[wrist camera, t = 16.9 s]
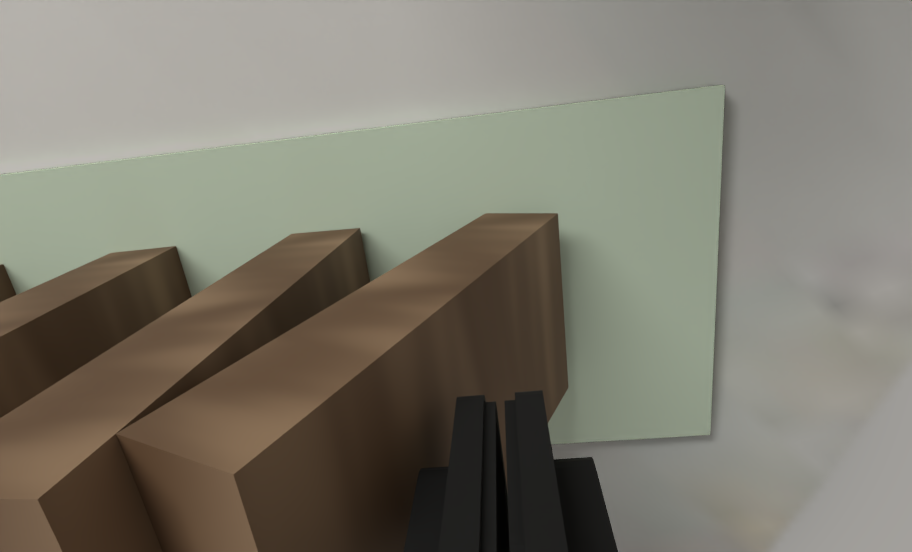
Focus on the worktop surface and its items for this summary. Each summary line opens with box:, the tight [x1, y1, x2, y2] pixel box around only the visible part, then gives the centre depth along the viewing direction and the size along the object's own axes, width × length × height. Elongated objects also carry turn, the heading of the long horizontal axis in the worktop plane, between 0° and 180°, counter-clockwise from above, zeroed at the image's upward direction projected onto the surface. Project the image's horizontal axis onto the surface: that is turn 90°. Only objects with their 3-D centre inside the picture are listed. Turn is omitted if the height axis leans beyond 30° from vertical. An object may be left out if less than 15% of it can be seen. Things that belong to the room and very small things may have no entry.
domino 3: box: [116, 213, 568, 552], centre depth 13 cm, size 2×6×12 cm, turn 7°
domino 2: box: [0, 228, 370, 552], centre depth 13 cm, size 2×6×12 cm, turn 6°
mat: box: [0, 85, 725, 444], centre depth 20 cm, size 38×12×1 cm, turn 96°
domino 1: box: [0, 246, 192, 418], centre depth 14 cm, size 2×6×12 cm, turn 6°
